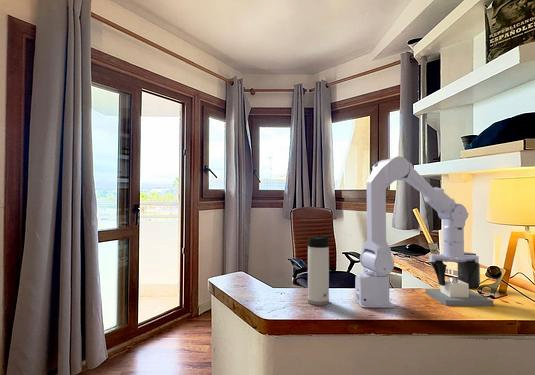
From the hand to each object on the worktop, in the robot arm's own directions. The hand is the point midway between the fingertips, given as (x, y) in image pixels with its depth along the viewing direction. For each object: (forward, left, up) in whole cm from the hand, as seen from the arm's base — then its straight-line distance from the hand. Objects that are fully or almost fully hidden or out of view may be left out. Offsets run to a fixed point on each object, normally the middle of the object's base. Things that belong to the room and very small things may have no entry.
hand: (453, 285), depth 99 cm
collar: (0, 0, -3) cm, 3 cm away
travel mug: (-43, -4, -5) cm, 43 cm away
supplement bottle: (+14, +15, -5) cm, 21 cm away
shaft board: (+1, 0, -4) cm, 5 cm away
